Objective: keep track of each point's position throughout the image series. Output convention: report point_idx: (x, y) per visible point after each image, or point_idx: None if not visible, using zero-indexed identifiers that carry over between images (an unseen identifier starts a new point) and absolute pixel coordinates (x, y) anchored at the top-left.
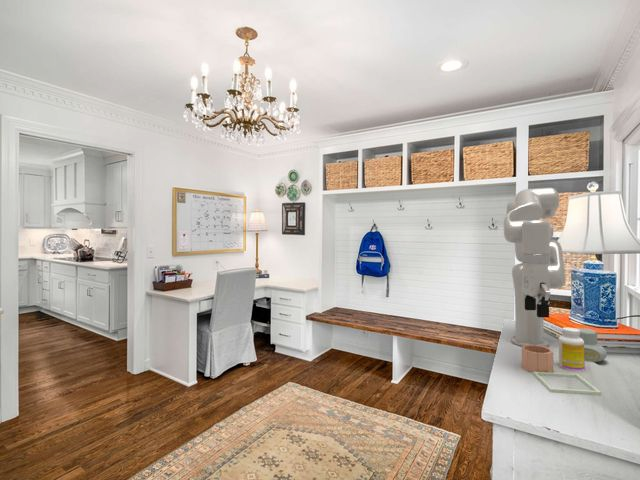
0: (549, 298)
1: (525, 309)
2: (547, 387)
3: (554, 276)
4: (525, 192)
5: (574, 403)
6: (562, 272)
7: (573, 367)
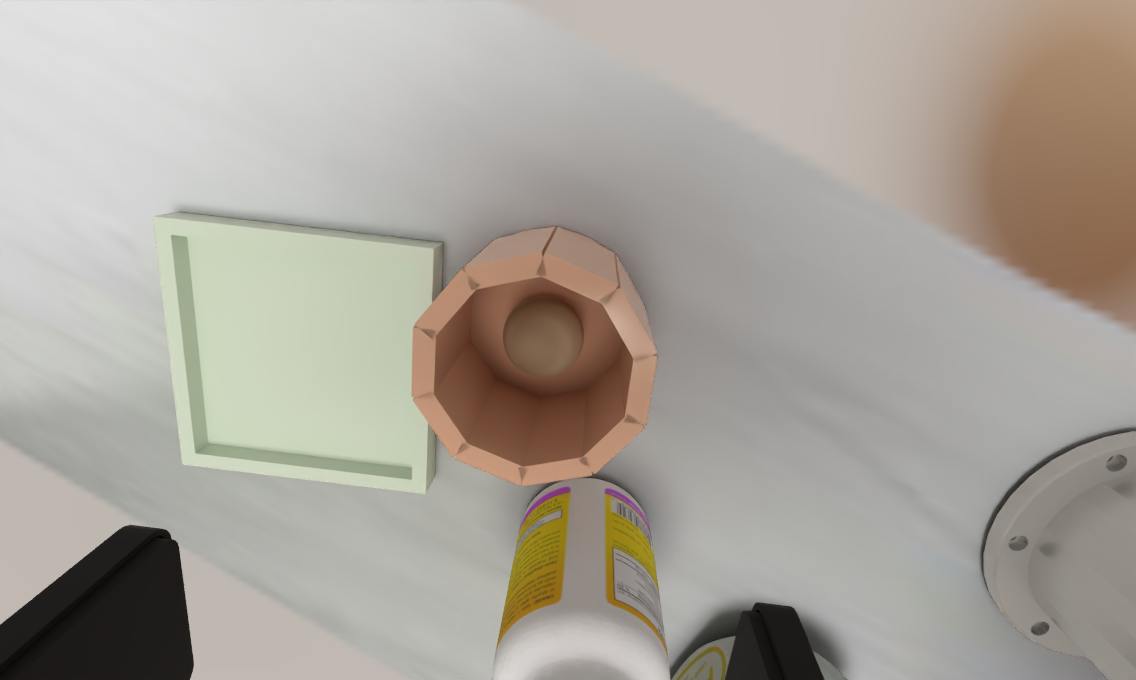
0: None
1: (758, 605)
2: (206, 220)
3: None
4: None
5: (103, 284)
6: None
7: (521, 527)
